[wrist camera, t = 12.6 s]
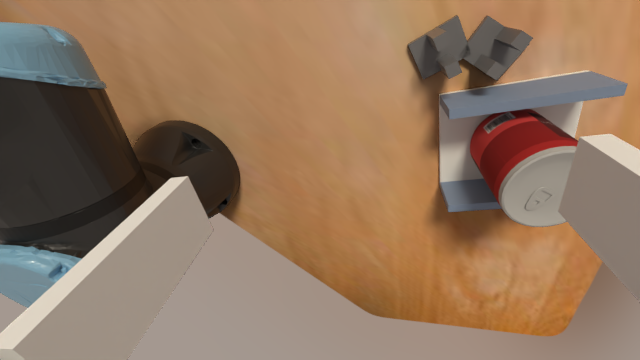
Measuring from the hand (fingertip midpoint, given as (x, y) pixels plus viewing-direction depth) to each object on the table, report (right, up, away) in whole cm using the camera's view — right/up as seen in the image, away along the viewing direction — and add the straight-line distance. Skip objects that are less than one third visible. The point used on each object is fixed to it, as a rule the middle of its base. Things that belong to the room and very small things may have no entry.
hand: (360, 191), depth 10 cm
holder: (+20, +5, +23) cm, 31 cm away
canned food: (+20, +5, +23) cm, 31 cm away
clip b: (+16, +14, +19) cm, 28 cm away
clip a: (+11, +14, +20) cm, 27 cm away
